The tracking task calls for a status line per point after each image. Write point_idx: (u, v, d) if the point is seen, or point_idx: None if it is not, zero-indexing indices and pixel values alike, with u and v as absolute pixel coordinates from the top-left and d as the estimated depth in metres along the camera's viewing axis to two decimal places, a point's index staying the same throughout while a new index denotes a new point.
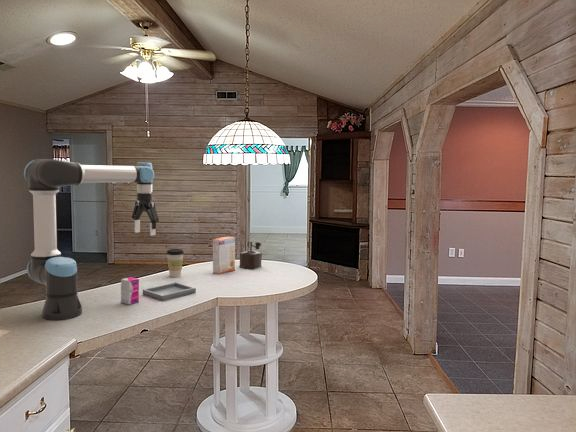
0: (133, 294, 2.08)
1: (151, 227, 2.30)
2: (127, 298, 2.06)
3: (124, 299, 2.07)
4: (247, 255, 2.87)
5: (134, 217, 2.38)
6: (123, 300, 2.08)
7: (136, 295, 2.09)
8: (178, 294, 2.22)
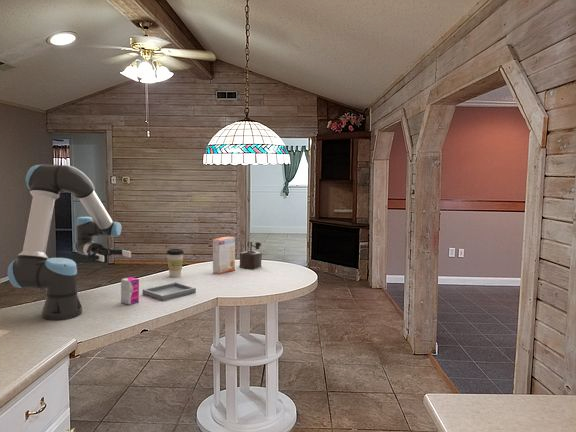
0: (133, 294, 2.08)
1: None
2: (127, 298, 2.06)
3: (124, 299, 2.07)
4: (247, 255, 2.87)
5: (93, 253, 2.13)
6: (123, 300, 2.08)
7: (136, 295, 2.09)
8: (178, 294, 2.22)
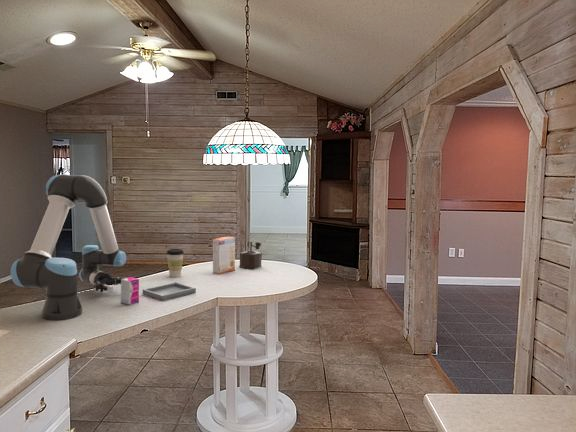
0: (133, 294, 2.08)
1: None
2: (127, 298, 2.06)
3: (124, 299, 2.07)
4: (247, 255, 2.87)
5: (101, 284, 2.12)
6: (123, 300, 2.08)
7: (136, 295, 2.09)
8: (178, 294, 2.22)
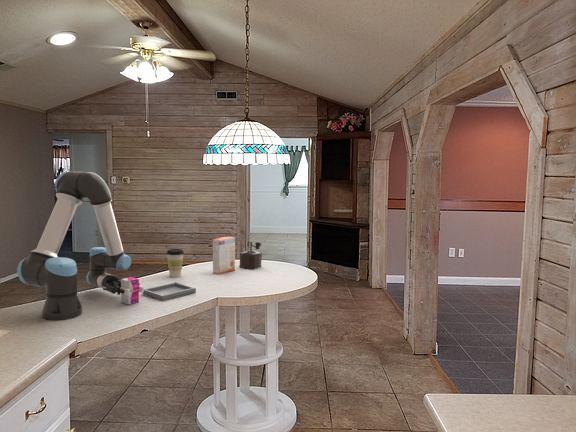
0: (133, 294, 2.08)
1: None
2: (127, 298, 2.06)
3: (124, 299, 2.07)
4: (247, 255, 2.87)
5: (117, 287, 2.07)
6: (123, 300, 2.08)
7: (136, 295, 2.09)
8: (178, 294, 2.22)
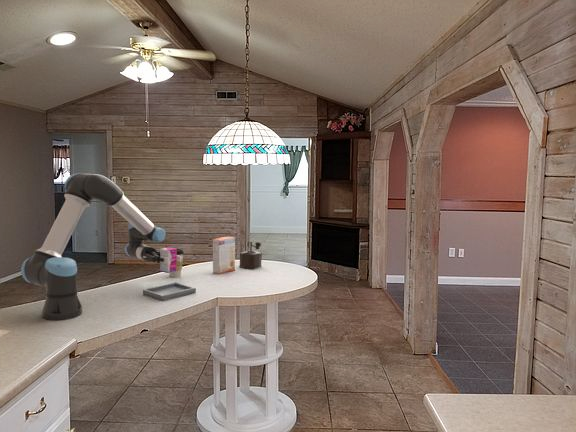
0: (172, 262, 2.23)
1: None
2: (166, 266, 2.22)
3: (163, 267, 2.23)
4: (247, 255, 2.87)
5: (157, 256, 2.23)
6: (162, 268, 2.23)
7: (174, 264, 2.25)
8: (178, 294, 2.22)
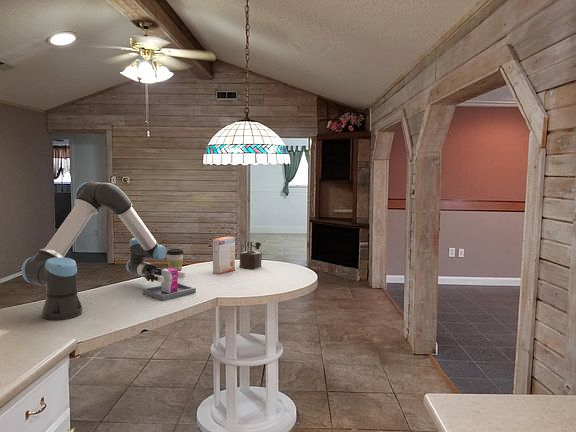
0: (173, 283, 2.25)
1: None
2: (167, 287, 2.23)
3: (164, 288, 2.25)
4: (247, 255, 2.87)
5: (151, 274, 2.23)
6: (163, 289, 2.25)
7: (175, 285, 2.26)
8: (178, 294, 2.22)
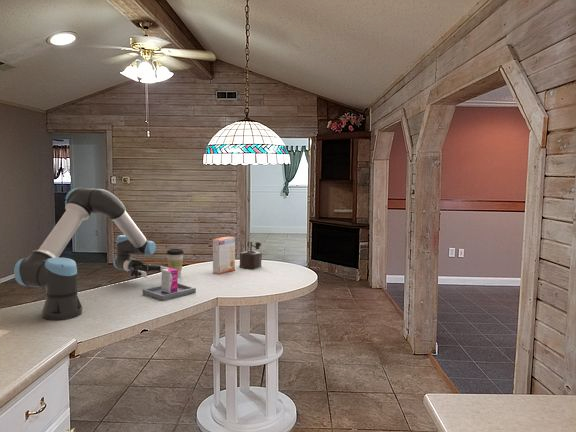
0: (173, 283, 2.25)
1: None
2: (167, 287, 2.23)
3: (164, 288, 2.25)
4: (247, 255, 2.87)
5: (135, 270, 2.31)
6: (163, 289, 2.25)
7: (175, 285, 2.26)
8: (178, 294, 2.22)
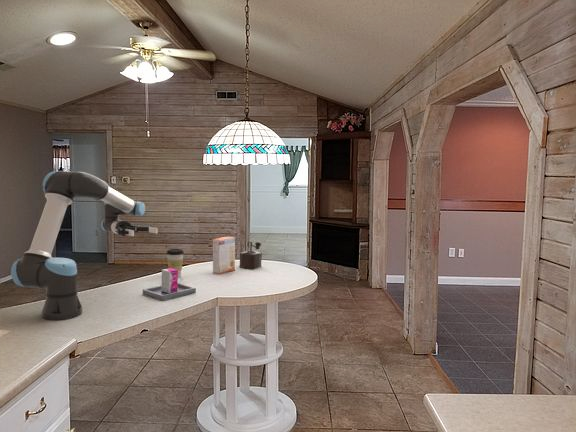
0: (173, 283, 2.25)
1: None
2: (167, 287, 2.23)
3: (164, 288, 2.25)
4: (247, 255, 2.87)
5: (123, 229, 2.27)
6: (163, 289, 2.25)
7: (175, 285, 2.26)
8: (178, 294, 2.22)
